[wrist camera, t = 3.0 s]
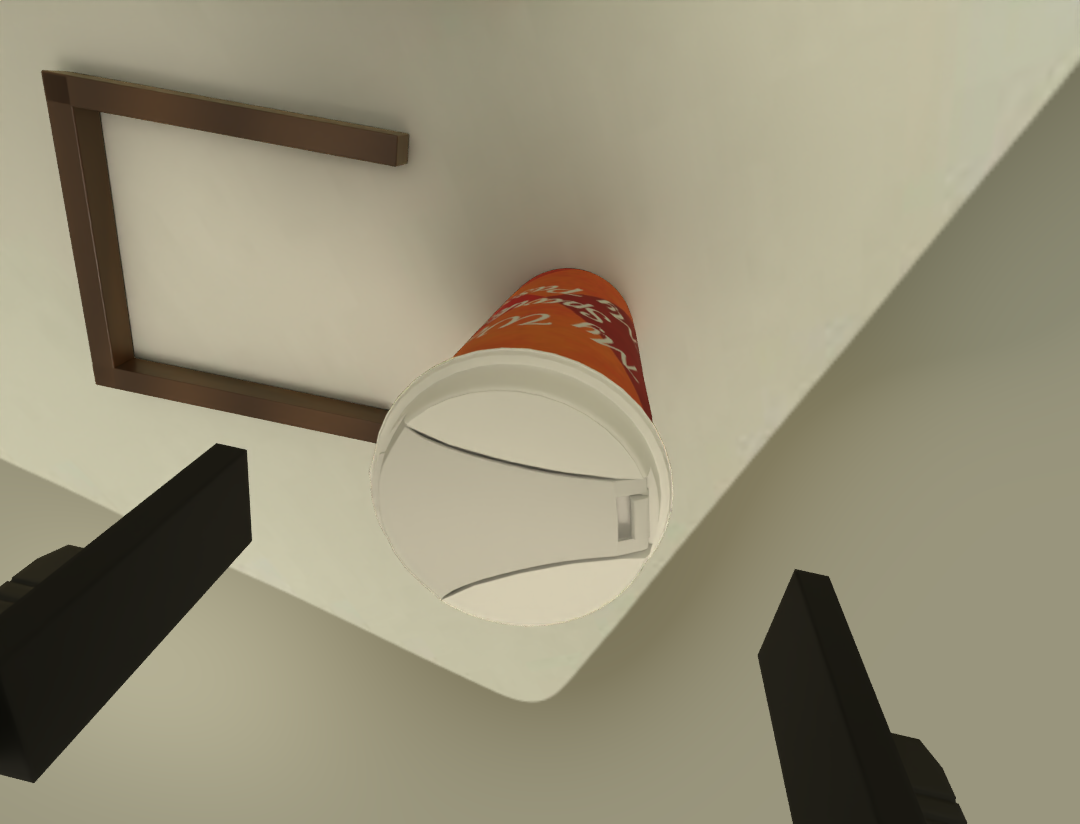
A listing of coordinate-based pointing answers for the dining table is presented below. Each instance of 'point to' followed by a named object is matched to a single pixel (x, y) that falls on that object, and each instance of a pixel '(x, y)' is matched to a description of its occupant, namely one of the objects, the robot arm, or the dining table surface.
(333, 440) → the dining table surface
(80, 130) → the brown frame
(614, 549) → the coffee cup
